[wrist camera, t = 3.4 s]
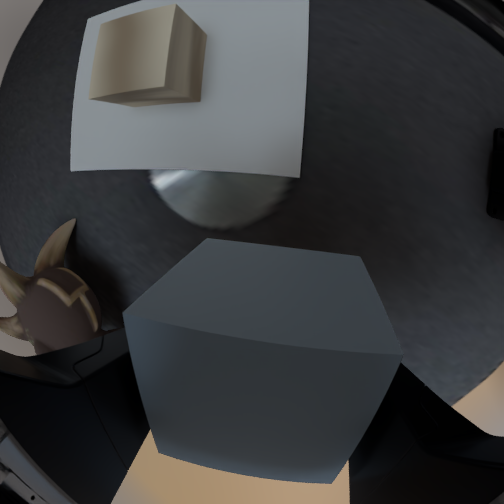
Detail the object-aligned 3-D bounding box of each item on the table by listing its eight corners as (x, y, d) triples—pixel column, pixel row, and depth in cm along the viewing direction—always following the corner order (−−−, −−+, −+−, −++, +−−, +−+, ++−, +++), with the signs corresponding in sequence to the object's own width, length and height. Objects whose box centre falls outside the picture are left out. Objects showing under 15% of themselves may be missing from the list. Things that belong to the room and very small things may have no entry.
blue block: (360, 256, 9) (403, 354, 4) (330, 374, 10) (331, 483, 6) (207, 238, 10) (122, 312, 5) (207, 356, 11) (158, 452, 7)
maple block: (207, 34, 15) (176, 3, 10) (200, 102, 16) (164, 86, 12) (142, 44, 15) (100, 24, 11) (134, 107, 17) (88, 99, 12)
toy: (137, 371, 27) (41, 265, 24) (186, 338, 24) (74, 212, 22) (93, 448, 16) (-32, 313, 14) (144, 432, 14) (-18, 252, 11)
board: (309, -14, 12) (309, -16, 12) (299, 177, 17) (299, 178, 17) (90, 20, 15) (88, 19, 15) (73, 170, 20) (70, 171, 20)
